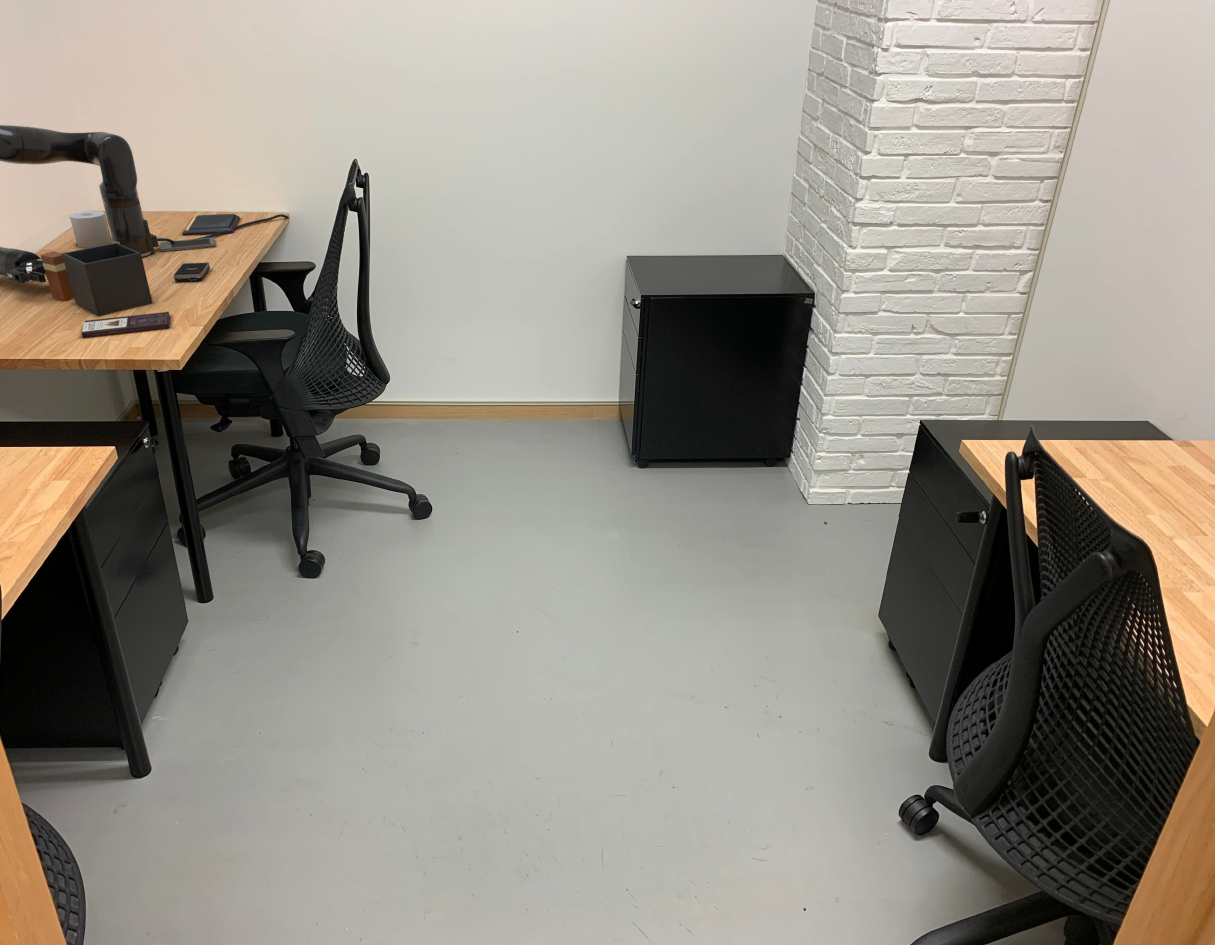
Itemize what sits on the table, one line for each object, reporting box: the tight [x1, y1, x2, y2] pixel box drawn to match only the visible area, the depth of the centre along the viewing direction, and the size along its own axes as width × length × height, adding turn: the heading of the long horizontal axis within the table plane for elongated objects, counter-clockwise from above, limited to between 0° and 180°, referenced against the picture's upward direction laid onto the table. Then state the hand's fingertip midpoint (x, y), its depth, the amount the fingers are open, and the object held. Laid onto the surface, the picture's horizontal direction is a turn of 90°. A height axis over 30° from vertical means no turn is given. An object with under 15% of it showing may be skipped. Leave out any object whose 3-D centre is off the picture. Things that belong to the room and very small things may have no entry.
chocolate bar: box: [81, 311, 170, 339], centre depth 214 cm, size 9×1×18 cm
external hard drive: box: [173, 262, 211, 283], centre depth 248 cm, size 7×11×2 cm, turn 9°
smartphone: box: [159, 237, 216, 252], centre depth 274 cm, size 15×8×1 cm, turn 113°
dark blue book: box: [182, 213, 240, 236], centre depth 293 cm, size 20×2×15 cm
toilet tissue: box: [69, 210, 113, 249], centre depth 274 cm, size 9×13×9 cm
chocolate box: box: [39, 251, 74, 302], centre depth 230 cm, size 5×4×11 cm
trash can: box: [61, 243, 154, 317], centre depth 226 cm, size 13×13×13 cm
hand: (59, 273), depth 229 cm, fingers open, 8 cm apart
